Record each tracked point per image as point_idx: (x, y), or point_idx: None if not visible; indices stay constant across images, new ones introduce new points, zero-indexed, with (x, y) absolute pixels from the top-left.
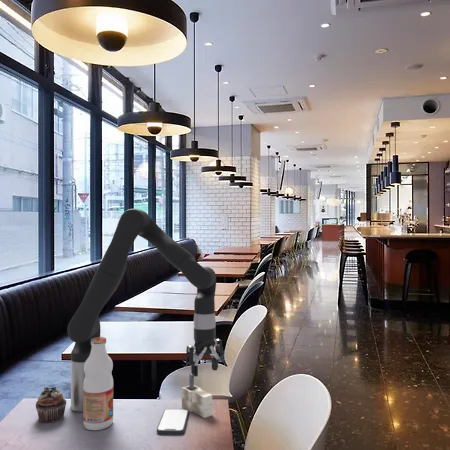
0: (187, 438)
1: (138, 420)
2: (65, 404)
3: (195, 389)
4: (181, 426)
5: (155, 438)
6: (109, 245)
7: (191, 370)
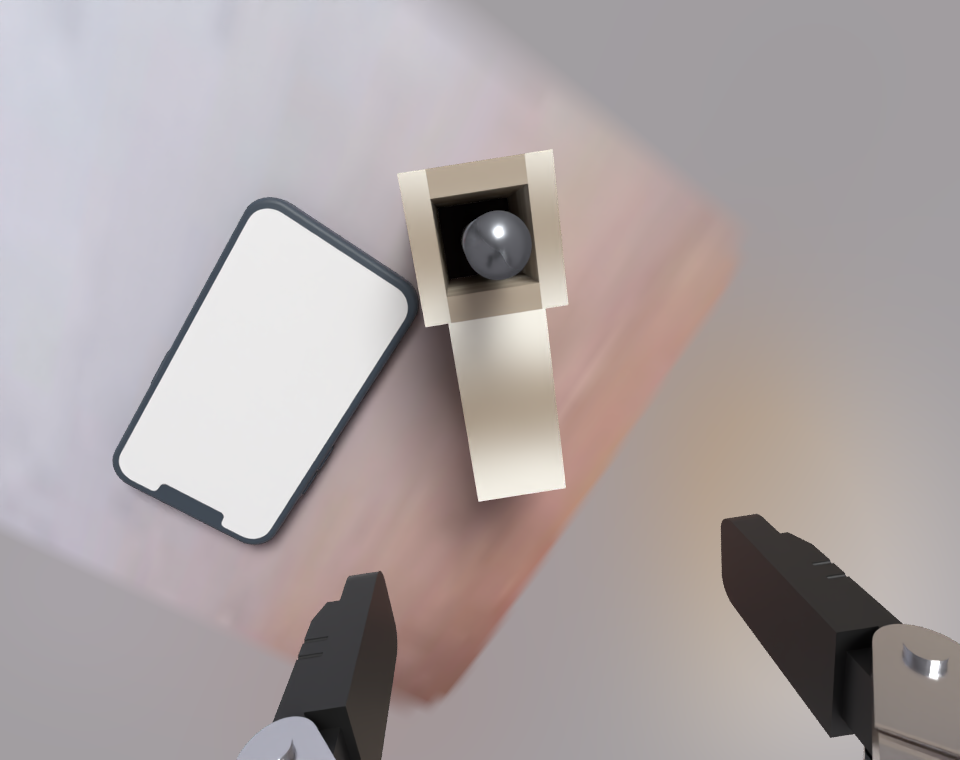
0: (275, 583)
1: (36, 219)
2: None
3: (501, 299)
4: (271, 503)
5: (103, 502)
6: None
7: (301, 653)
